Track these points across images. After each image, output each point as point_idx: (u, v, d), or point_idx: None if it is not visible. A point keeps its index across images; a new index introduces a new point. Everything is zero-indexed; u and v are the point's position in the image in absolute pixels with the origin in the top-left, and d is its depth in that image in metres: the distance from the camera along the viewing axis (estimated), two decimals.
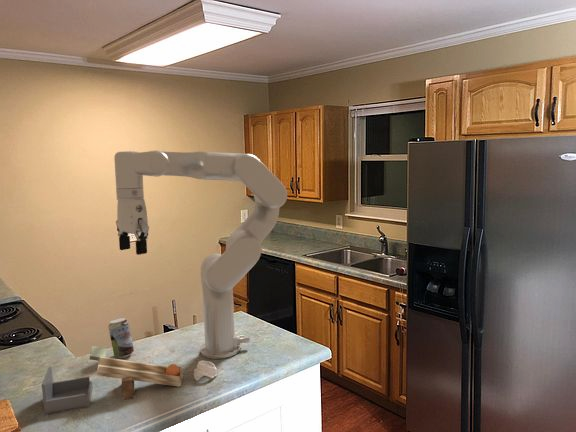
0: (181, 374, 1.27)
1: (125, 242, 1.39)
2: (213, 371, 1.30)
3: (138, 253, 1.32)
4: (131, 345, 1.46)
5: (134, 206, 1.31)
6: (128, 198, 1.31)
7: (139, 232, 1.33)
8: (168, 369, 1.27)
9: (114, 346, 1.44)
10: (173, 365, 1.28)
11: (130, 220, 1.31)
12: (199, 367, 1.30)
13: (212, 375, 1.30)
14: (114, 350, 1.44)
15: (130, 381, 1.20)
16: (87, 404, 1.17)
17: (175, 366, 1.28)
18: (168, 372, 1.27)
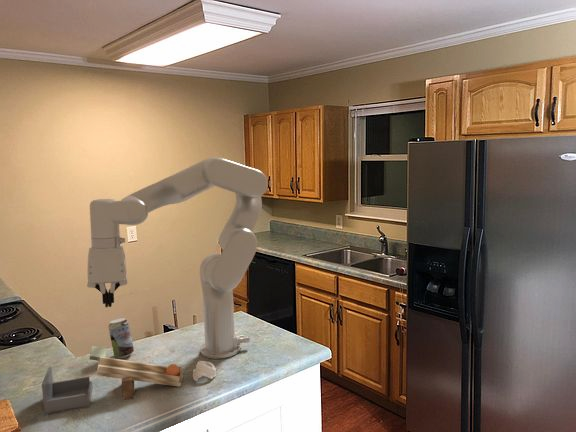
0: (181, 374, 1.27)
1: None
2: (212, 371, 1.30)
3: (111, 305, 1.32)
4: (131, 345, 1.46)
5: (123, 254, 1.31)
6: (117, 247, 1.29)
7: None
8: (168, 369, 1.27)
9: (114, 346, 1.44)
10: (173, 365, 1.28)
11: (119, 268, 1.30)
12: (198, 367, 1.30)
13: (211, 375, 1.30)
14: (114, 350, 1.44)
15: (130, 381, 1.20)
16: (87, 404, 1.17)
17: (175, 366, 1.28)
18: (168, 372, 1.27)
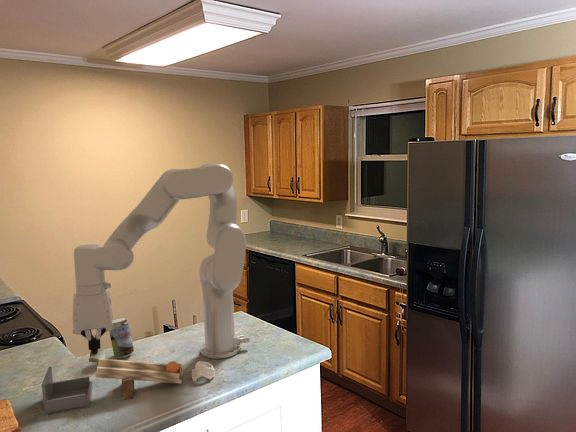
0: (181, 371, 1.27)
1: None
2: (211, 372, 1.30)
3: (97, 351, 1.30)
4: (131, 345, 1.46)
5: (108, 299, 1.29)
6: (102, 293, 1.28)
7: None
8: (168, 367, 1.27)
9: (114, 346, 1.44)
10: (172, 362, 1.28)
11: (105, 314, 1.28)
12: (197, 368, 1.30)
13: (210, 376, 1.29)
14: (114, 350, 1.44)
15: (130, 381, 1.20)
16: (87, 404, 1.17)
17: (174, 363, 1.27)
18: (168, 369, 1.26)
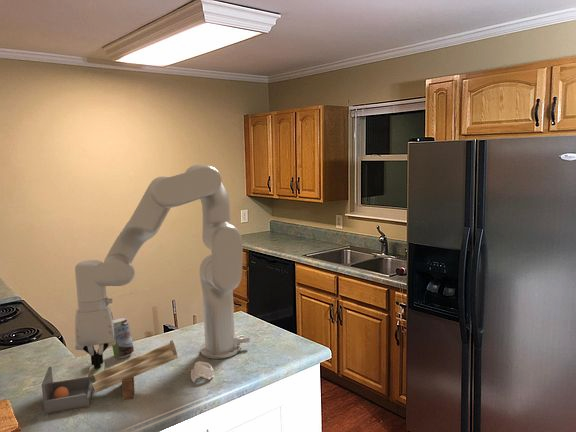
0: (172, 347, 1.25)
1: None
2: (210, 372, 1.30)
3: (100, 366, 1.31)
4: (131, 345, 1.46)
5: (110, 315, 1.30)
6: (104, 308, 1.28)
7: None
8: (65, 390, 1.19)
9: (114, 346, 1.44)
10: None
11: (107, 330, 1.29)
12: (196, 368, 1.30)
13: (209, 376, 1.29)
14: (114, 350, 1.44)
15: (130, 381, 1.20)
16: (87, 404, 1.17)
17: None
18: (62, 391, 1.18)
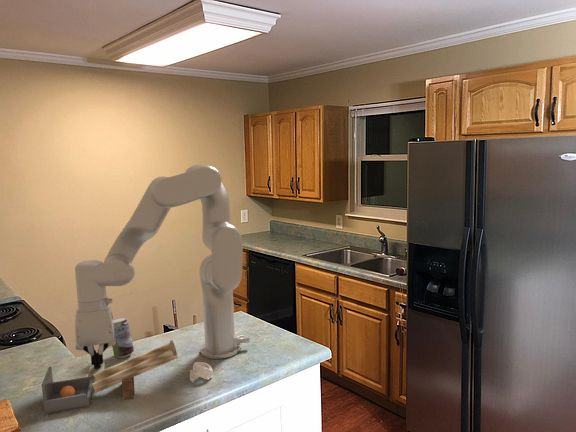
0: (172, 347, 1.25)
1: None
2: (209, 373, 1.29)
3: (100, 366, 1.31)
4: (131, 345, 1.46)
5: (110, 315, 1.30)
6: (104, 309, 1.28)
7: None
8: (73, 393, 1.20)
9: (114, 346, 1.44)
10: None
11: (107, 330, 1.29)
12: (195, 368, 1.29)
13: (208, 377, 1.29)
14: (114, 350, 1.44)
15: (130, 381, 1.20)
16: (87, 404, 1.17)
17: None
18: (71, 392, 1.19)
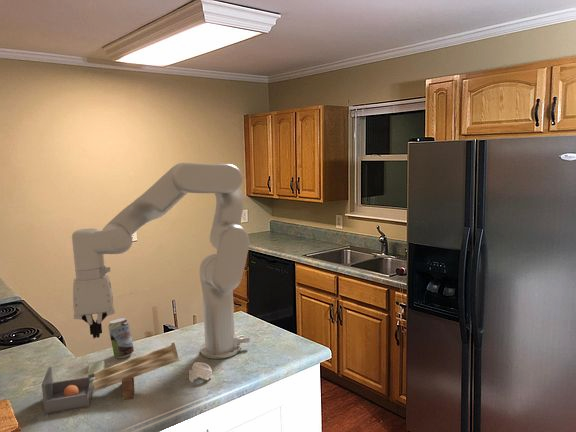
0: (174, 349, 1.26)
1: (95, 328, 1.30)
2: (208, 373, 1.29)
3: (99, 336, 1.30)
4: (131, 345, 1.46)
5: (108, 283, 1.29)
6: (102, 277, 1.27)
7: None
8: None
9: (114, 346, 1.44)
10: None
11: (106, 299, 1.28)
12: (194, 369, 1.29)
13: (207, 377, 1.29)
14: (114, 350, 1.44)
15: (130, 381, 1.20)
16: (87, 404, 1.17)
17: None
18: (75, 394, 1.19)
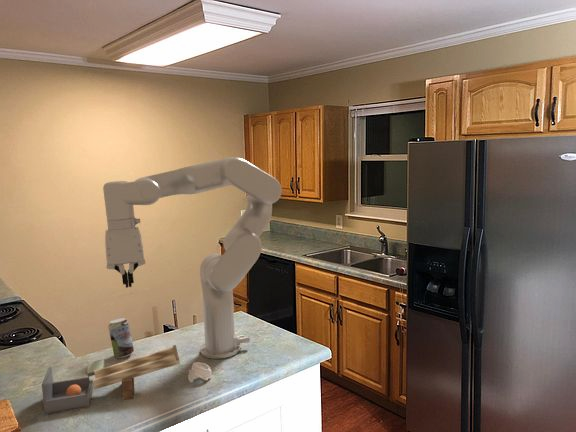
0: (175, 352, 1.26)
1: None
2: (207, 373, 1.29)
3: (131, 285, 1.34)
4: (131, 345, 1.46)
5: (139, 234, 1.33)
6: (133, 227, 1.31)
7: None
8: None
9: (114, 346, 1.44)
10: None
11: (137, 248, 1.32)
12: (193, 369, 1.29)
13: (206, 377, 1.29)
14: (114, 350, 1.44)
15: (130, 381, 1.20)
16: (87, 404, 1.17)
17: None
18: None
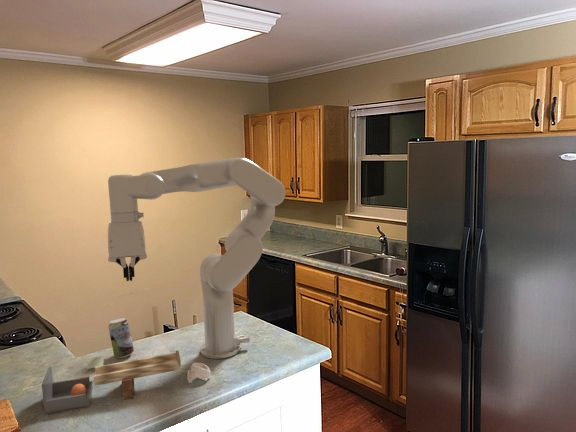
0: (178, 357, 1.26)
1: None
2: (206, 373, 1.29)
3: None
4: (131, 345, 1.46)
5: (142, 228, 1.33)
6: (136, 221, 1.31)
7: None
8: None
9: (114, 346, 1.44)
10: None
11: (139, 242, 1.32)
12: (192, 369, 1.29)
13: (205, 377, 1.29)
14: (114, 350, 1.44)
15: (130, 381, 1.20)
16: (87, 404, 1.17)
17: (71, 394, 1.20)
18: None
